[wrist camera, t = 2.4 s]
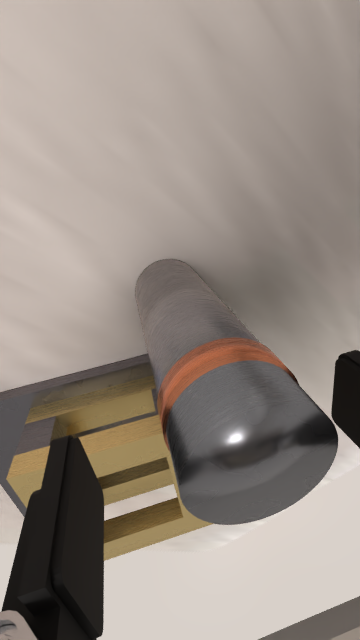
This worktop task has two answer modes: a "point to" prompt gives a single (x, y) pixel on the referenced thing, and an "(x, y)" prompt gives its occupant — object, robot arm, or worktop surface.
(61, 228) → the worktop surface
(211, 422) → the tube
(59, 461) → the robot arm
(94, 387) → the tan frame fixture
